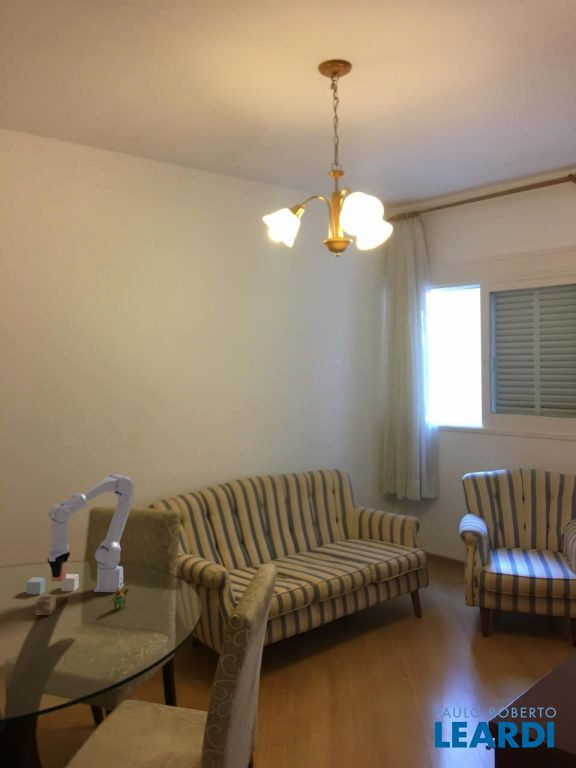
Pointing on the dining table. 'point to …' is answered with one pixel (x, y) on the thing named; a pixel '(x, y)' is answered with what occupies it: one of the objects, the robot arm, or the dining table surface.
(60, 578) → the brick-red block
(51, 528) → the robot arm
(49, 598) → the walnut block
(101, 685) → the dining table surface
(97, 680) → the dining table surface
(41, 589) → the blue-grey block
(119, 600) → the figurine
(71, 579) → the pale grey block
